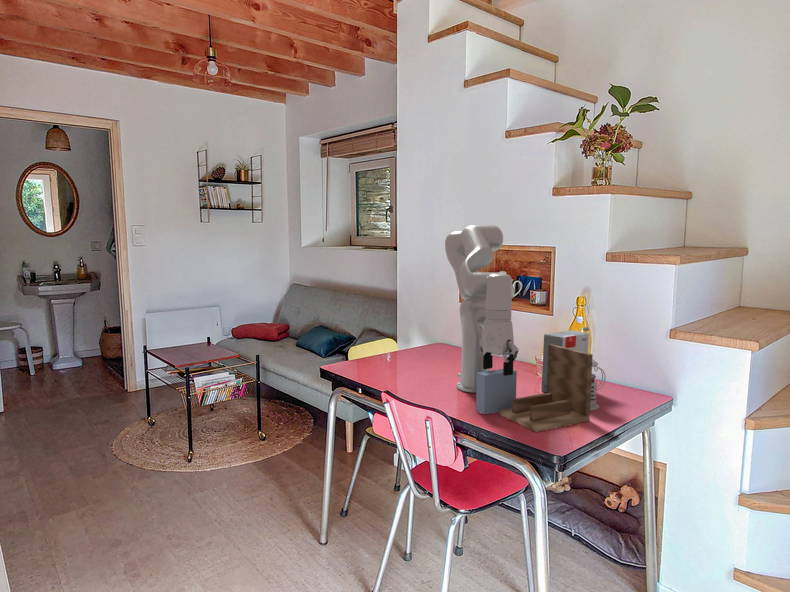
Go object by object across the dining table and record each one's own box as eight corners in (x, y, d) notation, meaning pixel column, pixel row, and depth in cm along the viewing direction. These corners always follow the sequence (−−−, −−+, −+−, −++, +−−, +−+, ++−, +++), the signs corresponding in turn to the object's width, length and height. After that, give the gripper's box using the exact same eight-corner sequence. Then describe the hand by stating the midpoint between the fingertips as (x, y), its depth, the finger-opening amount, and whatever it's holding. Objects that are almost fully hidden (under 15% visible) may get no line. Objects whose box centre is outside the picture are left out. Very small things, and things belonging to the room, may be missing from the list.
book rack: (499, 414, 159) (500, 350, 157) (549, 405, 168) (552, 344, 166) (536, 432, 145) (538, 362, 142) (589, 420, 154) (592, 354, 152)
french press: (561, 400, 172) (564, 324, 169) (595, 399, 174) (599, 323, 171) (574, 410, 163) (577, 329, 160) (610, 409, 164) (614, 329, 161)
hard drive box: (559, 397, 176) (561, 337, 174) (540, 391, 183) (542, 334, 180) (587, 389, 186) (589, 332, 183) (568, 384, 192) (570, 329, 189)
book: (476, 411, 162) (476, 372, 161) (507, 405, 168) (508, 368, 166) (484, 415, 159) (484, 375, 157) (515, 409, 164) (516, 370, 163)
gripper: (471, 313, 166) (470, 367, 167) (507, 319, 150) (506, 379, 152) (490, 311, 169) (490, 365, 170) (527, 317, 154) (526, 376, 155)
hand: (497, 371), depth 161 cm, fingers open, 9 cm apart
